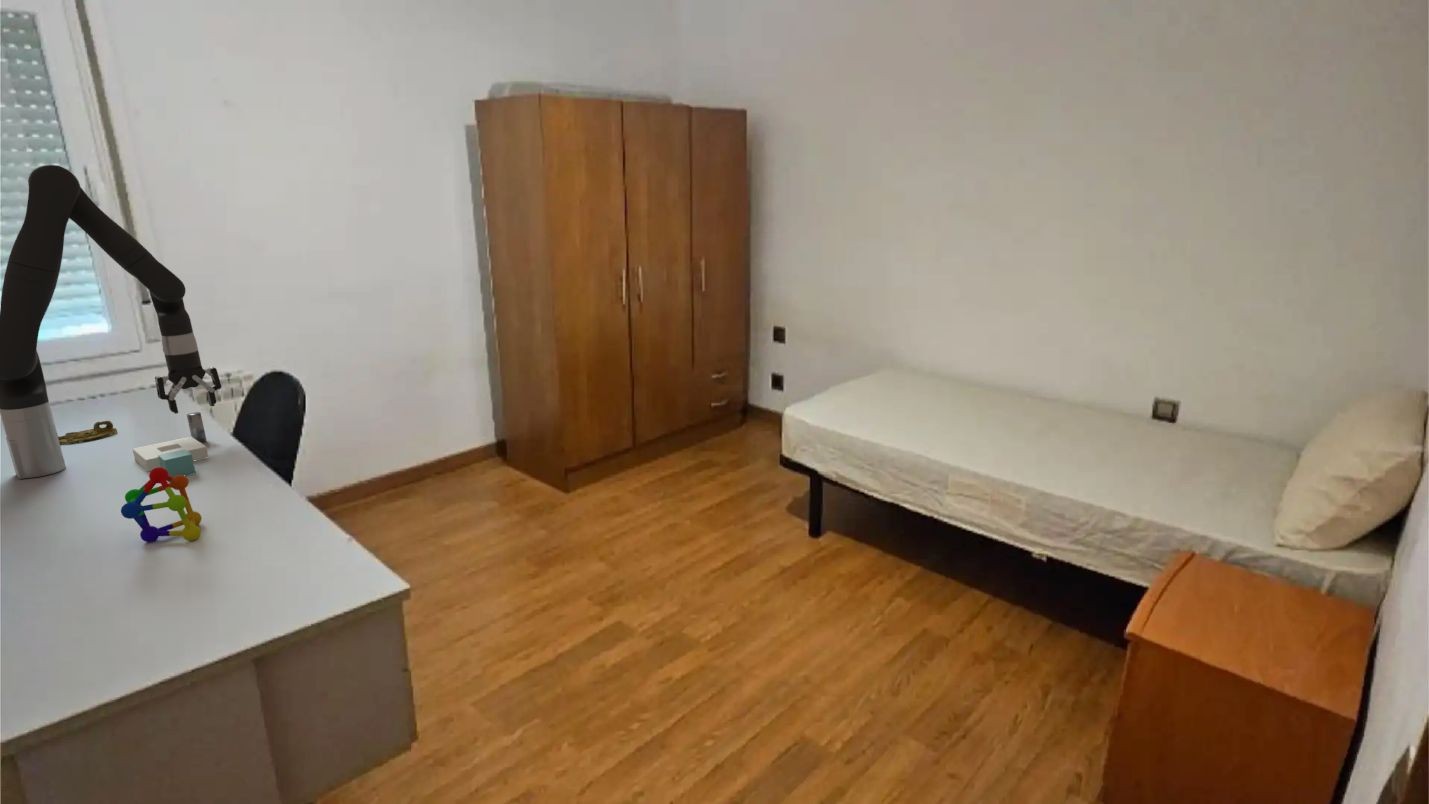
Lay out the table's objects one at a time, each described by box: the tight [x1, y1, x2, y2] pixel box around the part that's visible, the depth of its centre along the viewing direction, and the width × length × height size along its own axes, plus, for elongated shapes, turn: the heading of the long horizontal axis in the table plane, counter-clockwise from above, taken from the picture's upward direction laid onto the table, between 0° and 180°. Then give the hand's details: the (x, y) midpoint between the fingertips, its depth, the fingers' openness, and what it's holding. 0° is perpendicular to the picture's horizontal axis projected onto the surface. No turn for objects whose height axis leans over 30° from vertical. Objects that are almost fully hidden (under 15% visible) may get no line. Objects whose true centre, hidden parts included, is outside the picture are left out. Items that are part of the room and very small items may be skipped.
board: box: [132, 436, 209, 473], centre depth 200 cm, size 13×13×3 cm
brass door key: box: [58, 420, 118, 446], centre depth 218 cm, size 9×5×15 cm
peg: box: [186, 411, 207, 444], centre depth 212 cm, size 3×3×8 cm
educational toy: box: [120, 467, 203, 543], centre depth 153 cm, size 16×13×15 cm
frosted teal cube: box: [158, 449, 196, 477], centre depth 189 cm, size 6×6×5 cm
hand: (194, 409), depth 211 cm, fingers open, 8 cm apart
